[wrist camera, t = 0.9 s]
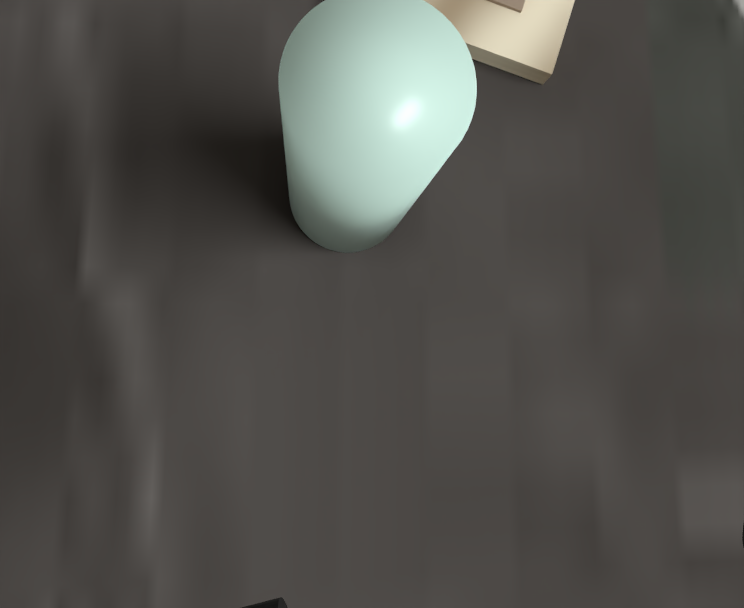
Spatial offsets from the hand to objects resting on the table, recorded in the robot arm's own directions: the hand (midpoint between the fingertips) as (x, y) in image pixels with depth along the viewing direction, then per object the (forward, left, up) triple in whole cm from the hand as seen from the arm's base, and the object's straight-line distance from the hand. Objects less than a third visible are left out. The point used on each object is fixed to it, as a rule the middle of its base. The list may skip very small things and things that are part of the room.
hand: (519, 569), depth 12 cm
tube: (-5, +10, -19) cm, 22 cm away
